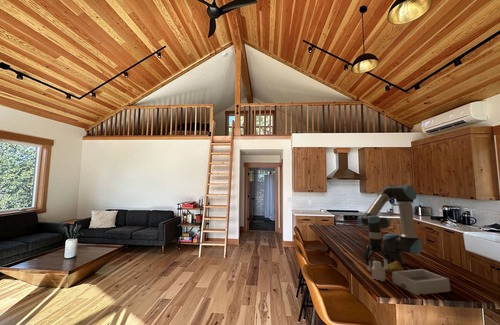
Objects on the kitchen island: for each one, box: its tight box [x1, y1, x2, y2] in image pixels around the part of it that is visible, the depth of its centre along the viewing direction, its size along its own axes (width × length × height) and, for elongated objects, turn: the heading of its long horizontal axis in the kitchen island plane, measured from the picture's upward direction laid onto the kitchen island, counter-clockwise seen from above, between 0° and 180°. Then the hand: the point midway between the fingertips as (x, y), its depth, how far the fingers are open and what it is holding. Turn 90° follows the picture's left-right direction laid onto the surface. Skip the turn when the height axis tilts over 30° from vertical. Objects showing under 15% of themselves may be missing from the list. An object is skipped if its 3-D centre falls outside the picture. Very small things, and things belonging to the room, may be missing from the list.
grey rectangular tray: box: [391, 268, 451, 296], centre depth 135 cm, size 17×26×7 cm, turn 100°
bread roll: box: [387, 261, 405, 274], centre depth 157 cm, size 13×10×8 cm
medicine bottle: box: [370, 259, 386, 282], centre depth 148 cm, size 7×7×12 cm
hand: (377, 269), depth 148 cm, fingers open, 13 cm apart
